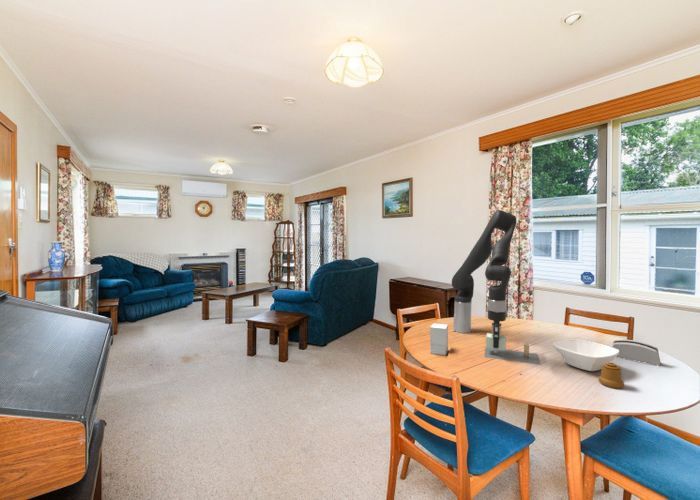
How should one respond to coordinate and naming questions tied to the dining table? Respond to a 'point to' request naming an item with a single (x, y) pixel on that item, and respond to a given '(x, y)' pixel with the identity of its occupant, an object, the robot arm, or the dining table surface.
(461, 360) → the dining table surface
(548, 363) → the dining table surface
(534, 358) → the board
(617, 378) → the ornamental finial
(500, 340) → the collar
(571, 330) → the dining table surface
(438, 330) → the supplement box
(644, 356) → the grey curved slab
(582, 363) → the bowl
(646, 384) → the dining table surface
